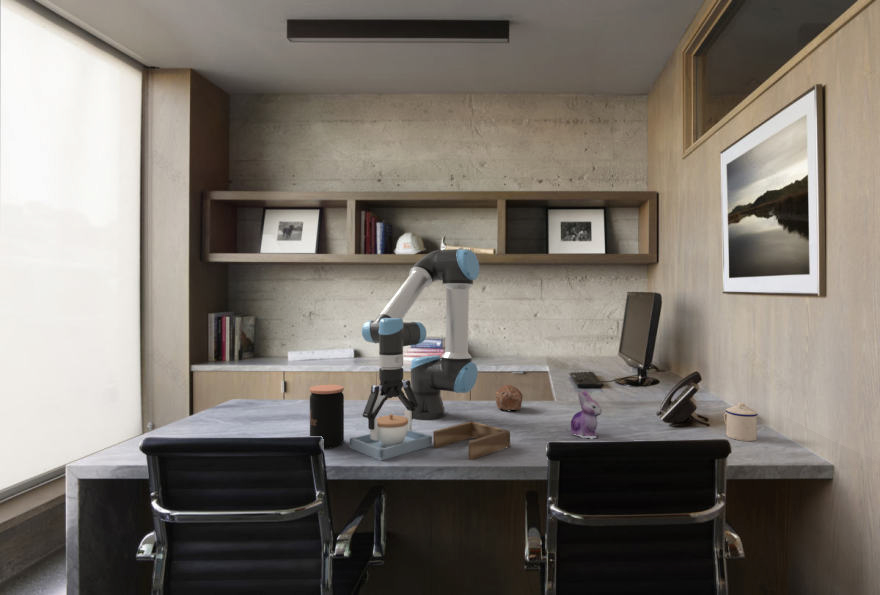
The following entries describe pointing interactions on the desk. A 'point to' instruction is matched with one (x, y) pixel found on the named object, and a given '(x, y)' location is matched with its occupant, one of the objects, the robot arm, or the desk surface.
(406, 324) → the robot arm
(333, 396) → the coffee jar
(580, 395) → the figurine
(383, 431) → the lidded jar
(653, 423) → the desk surface
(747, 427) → the teacup with lid
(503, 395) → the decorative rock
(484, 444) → the dock
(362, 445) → the tray
